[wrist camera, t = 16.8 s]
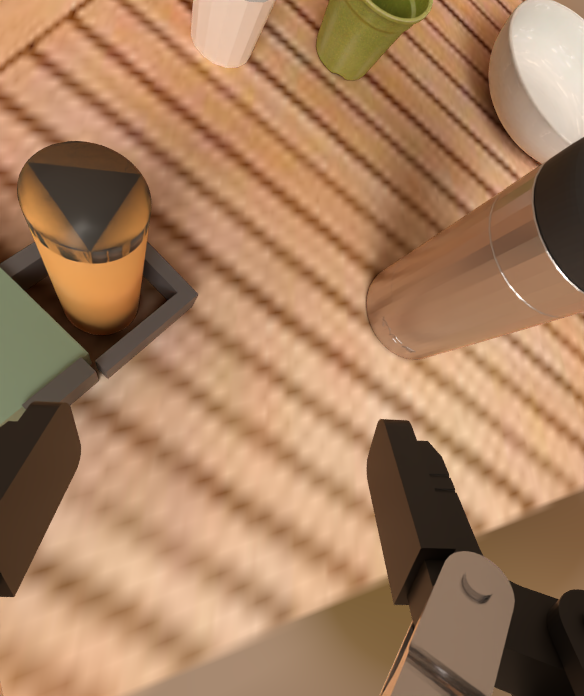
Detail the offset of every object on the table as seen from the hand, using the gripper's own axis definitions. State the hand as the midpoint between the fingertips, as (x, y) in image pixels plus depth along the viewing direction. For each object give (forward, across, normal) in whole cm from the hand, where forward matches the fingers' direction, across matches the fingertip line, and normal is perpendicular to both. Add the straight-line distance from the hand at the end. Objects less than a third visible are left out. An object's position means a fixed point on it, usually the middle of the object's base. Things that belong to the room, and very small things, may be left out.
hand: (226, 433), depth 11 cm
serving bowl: (+52, -33, -5) cm, 62 cm away
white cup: (+40, +5, -9) cm, 42 cm away
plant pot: (+46, -7, -9) cm, 47 cm away
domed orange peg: (+19, +11, +7) cm, 23 cm away
